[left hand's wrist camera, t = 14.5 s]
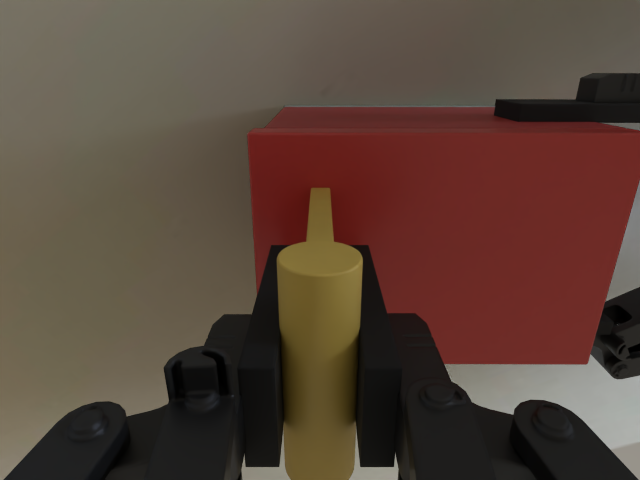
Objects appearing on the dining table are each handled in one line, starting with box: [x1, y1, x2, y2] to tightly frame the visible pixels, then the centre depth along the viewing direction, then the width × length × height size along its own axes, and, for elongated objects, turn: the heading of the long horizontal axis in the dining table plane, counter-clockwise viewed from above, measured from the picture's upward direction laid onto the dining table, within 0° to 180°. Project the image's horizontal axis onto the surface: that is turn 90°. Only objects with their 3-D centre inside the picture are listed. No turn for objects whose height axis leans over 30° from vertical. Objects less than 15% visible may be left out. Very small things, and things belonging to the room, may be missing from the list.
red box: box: [265, 106, 626, 129], centre depth 23 cm, size 14×10×10 cm
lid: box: [247, 128, 640, 480], centre depth 14 cm, size 14×10×9 cm
